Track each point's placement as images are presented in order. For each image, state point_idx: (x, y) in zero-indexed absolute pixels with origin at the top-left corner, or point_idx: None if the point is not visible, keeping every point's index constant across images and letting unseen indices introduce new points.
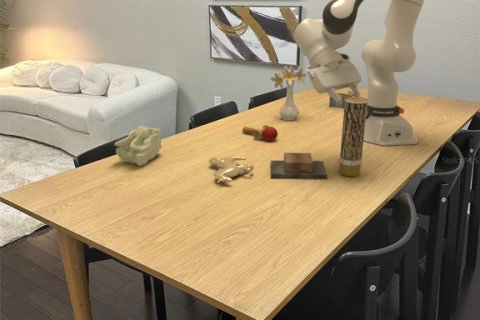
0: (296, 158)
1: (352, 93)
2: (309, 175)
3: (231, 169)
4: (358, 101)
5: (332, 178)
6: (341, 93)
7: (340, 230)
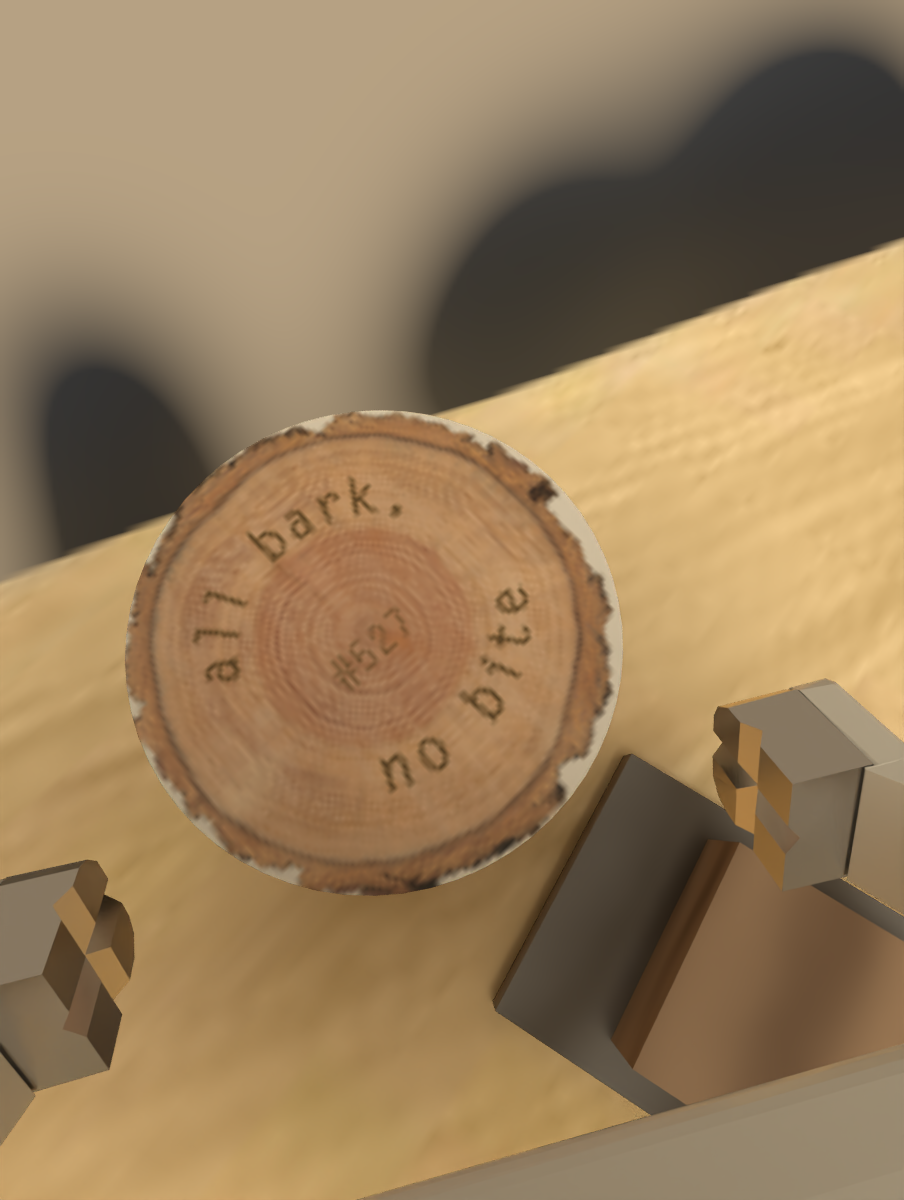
0: (823, 1008)
1: (99, 1053)
2: None
3: None
4: (482, 456)
5: None
6: None
7: (890, 279)
